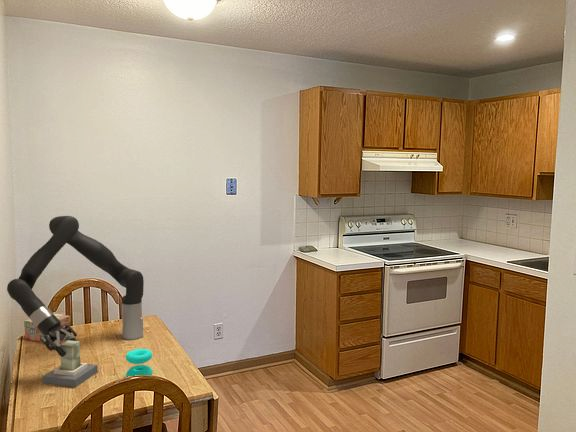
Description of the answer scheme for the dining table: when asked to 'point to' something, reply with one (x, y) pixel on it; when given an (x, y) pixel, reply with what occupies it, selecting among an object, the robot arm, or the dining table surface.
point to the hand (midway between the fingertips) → (71, 351)
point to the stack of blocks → (35, 334)
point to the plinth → (70, 375)
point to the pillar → (70, 355)
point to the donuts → (139, 362)
